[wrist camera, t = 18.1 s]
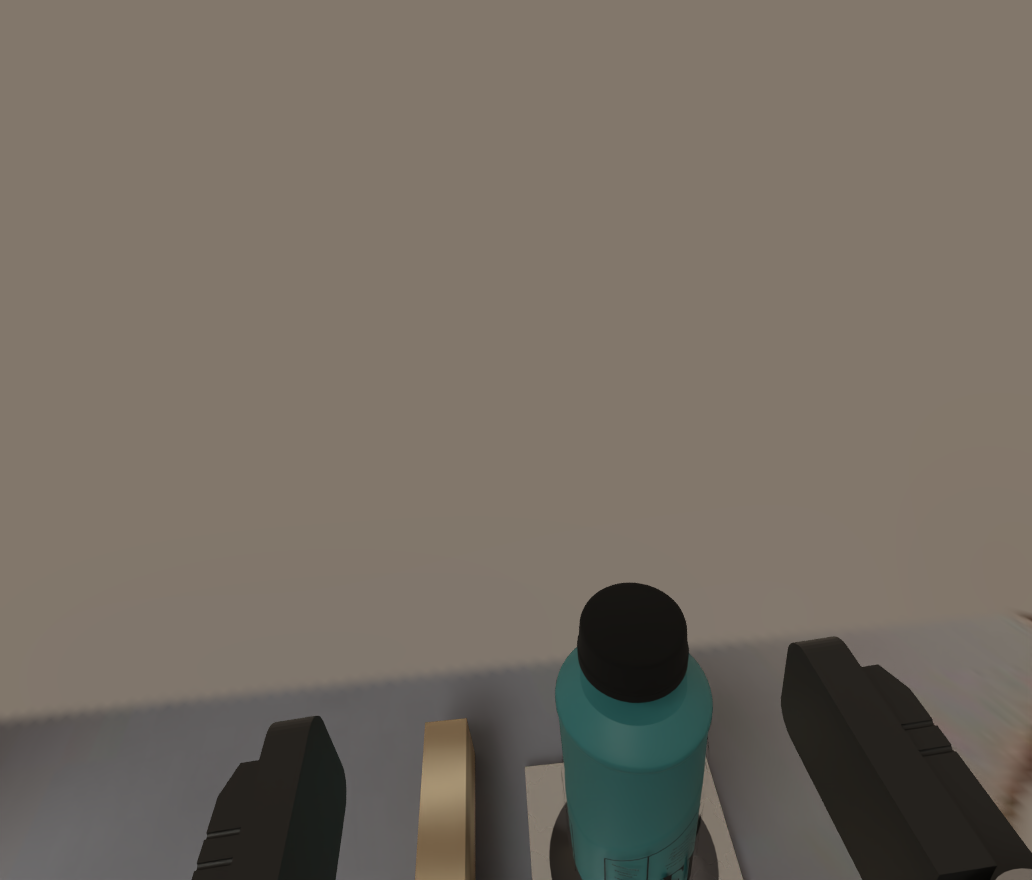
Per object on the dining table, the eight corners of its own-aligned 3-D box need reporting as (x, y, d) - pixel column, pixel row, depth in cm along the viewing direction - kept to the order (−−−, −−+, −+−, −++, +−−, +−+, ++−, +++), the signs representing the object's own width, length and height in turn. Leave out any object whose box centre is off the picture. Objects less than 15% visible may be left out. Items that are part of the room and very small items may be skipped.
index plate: (769, 977, 31) (772, 972, 30) (541, 1000, 31) (539, 995, 30) (702, 753, 40) (703, 747, 39) (525, 771, 40) (524, 765, 39)
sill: (475, 1049, 30) (463, 1024, 27) (421, 1054, 30) (405, 1030, 27) (475, 753, 41) (466, 718, 39) (436, 757, 41) (425, 722, 39)
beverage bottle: (666, 962, 31) (694, 737, 19) (546, 884, 34) (509, 650, 22) (710, 835, 35) (754, 589, 24) (600, 775, 38) (592, 533, 27)
